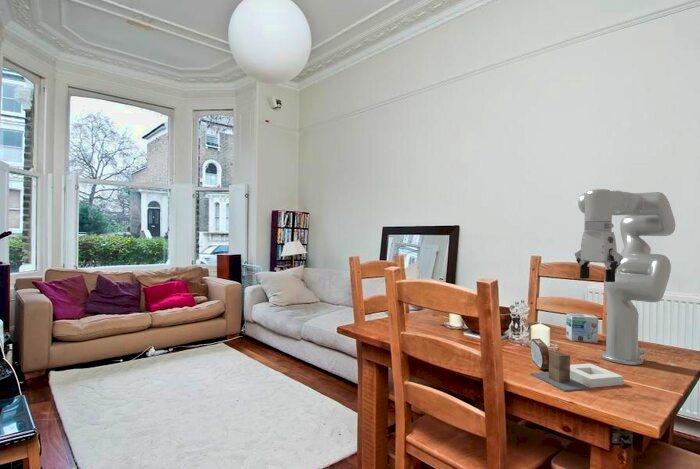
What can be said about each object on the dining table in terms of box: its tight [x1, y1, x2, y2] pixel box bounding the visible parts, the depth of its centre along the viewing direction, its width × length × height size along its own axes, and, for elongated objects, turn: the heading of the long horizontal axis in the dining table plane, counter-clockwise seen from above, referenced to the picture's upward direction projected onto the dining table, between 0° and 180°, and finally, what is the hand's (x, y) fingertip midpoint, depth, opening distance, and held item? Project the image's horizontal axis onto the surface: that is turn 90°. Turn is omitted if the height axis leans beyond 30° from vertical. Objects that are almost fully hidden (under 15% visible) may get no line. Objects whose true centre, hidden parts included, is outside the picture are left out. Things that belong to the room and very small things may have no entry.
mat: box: [530, 371, 591, 393], centre depth 119 cm, size 9×14×1 cm, turn 14°
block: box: [548, 350, 571, 383], centre depth 119 cm, size 4×4×8 cm
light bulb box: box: [565, 312, 599, 344], centre depth 169 cm, size 11×7×11 cm, turn 81°
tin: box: [530, 338, 550, 371], centre depth 134 cm, size 15×3×8 cm, turn 168°
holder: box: [570, 363, 624, 389], centre depth 122 cm, size 12×12×2 cm
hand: (596, 280), depth 127 cm, fingers open, 9 cm apart
